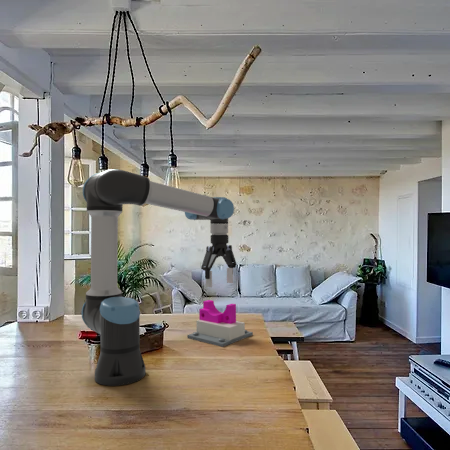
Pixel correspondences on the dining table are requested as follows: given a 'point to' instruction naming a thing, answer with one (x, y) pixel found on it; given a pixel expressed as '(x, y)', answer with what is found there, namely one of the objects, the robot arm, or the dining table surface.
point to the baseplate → (216, 340)
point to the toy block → (217, 313)
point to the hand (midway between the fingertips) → (219, 284)
